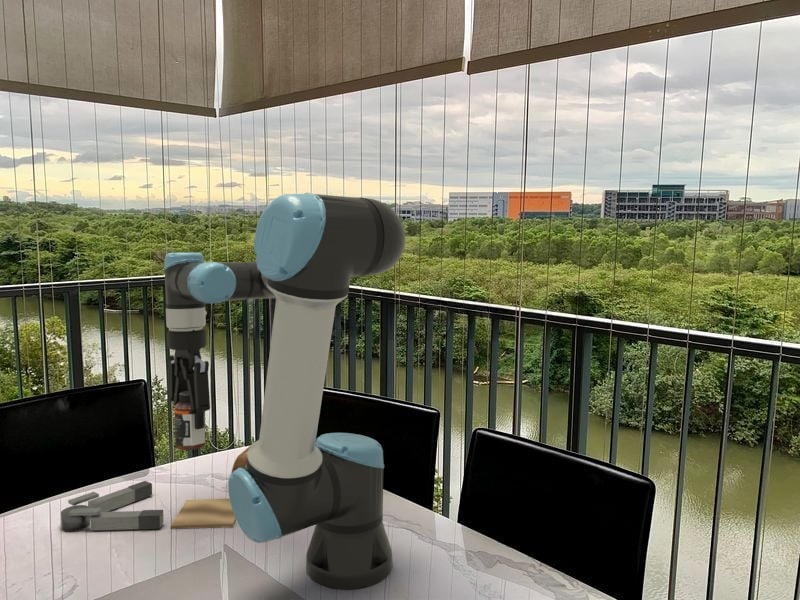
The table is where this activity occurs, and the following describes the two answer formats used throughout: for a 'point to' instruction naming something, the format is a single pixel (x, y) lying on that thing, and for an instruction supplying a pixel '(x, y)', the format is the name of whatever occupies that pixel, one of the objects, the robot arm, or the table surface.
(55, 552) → the table surface
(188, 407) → the supplement bottle
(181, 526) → the cork mat
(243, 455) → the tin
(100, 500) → the tong jaw
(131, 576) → the table surface
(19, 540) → the table surface
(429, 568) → the table surface
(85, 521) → the tongs base
